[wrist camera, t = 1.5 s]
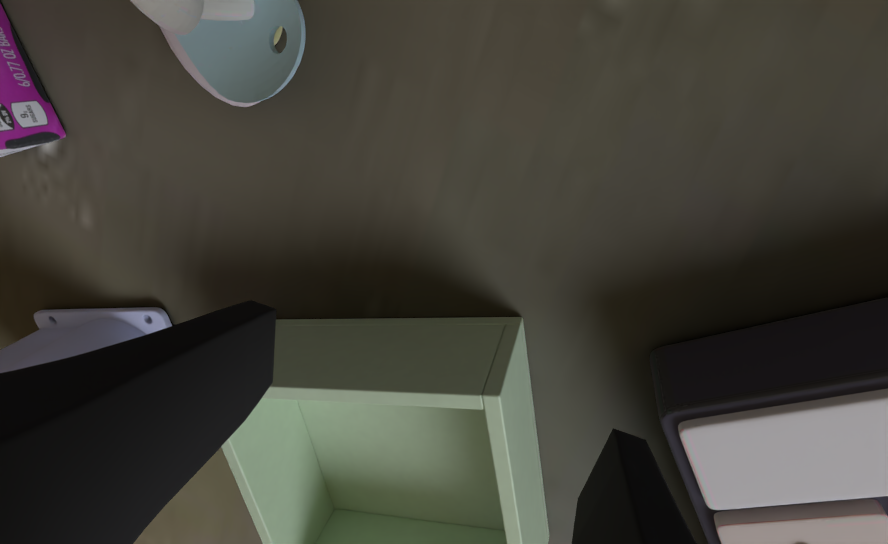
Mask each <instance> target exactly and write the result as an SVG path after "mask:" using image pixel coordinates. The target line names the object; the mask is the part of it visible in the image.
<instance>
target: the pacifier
mask: <svg viewBox="0 0 888 544" xmlns="http://www.w3.org/2000/svg"><path fill="white" fill-rule="evenodd" d="M130 1H131V2H132V3H133V4H134V5H135V6H136V7H137V8H138V9H139V10H140V11H141V12H142V13H144V14H145V15H146V16H147V17H148V18H150V19H151V20H152V21H153V22H155V23H156V24H158V25H159V27H160V29H161V31H162V32H163V34H164V36H165V38H166V40H167V42H168V44H169V46H170V48H171V49H172V51H173V52H174V54H175V55H176V56H177V58H178V59H179V61H180V62H181V64H182V65H183V67H184V68H185V69H186V70H187V71H188V72H189V74H190V75H191V76H192V77H193V78H194V79H195V80H196V81H197V82H198V83H199V84H200V85H201V86H202V87H203V88H204V89H206V90H207V91H208V92H210V93H211V94H212V95H213V96H215V97H216V98H218V99H220V100H222V101H225V102H227V103H229V104H231V105H233V106H241V107H249V106H252V105H254V104H257V103H259V102H260V101H263V100H265V99H268V98H270V97H272V96H274V95H275V94H277V93H278V92H279V91H280V90H281V89H283V88H284V87H285V86H286V85H287V84H288V82H289V81H290V80H291V79H292V77H293V76H294V74H295V72H296V70H297V68H298V66H299V64H300V62H301V59H302V55H303V52H304V47H305V22H304V16H303V13H302V10H301V8H300V5H299V2H298V1H297V0H130ZM282 28H284V29H285V31H286V33H287V44H286V47H285V49H284V50H283V51H282V52H281V53H279V52H278V51H277V50H276V48H275V45H276V44H277V42H278V40H279V39H280V36H281V33H282Z"/></svg>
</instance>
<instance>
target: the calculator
mask: <svg viewBox="0 0 888 544" xmlns="http://www.w3.org/2000/svg"><path fill="white" fill-rule="evenodd" d="M650 364H651V371H652V377H653V383H654V390H655V396H656V402H657V408H658V414H659V420H660V423H661V426H662V428H663V431H664V434H665V436H666V439H667V441H668V444H669V446H670V449H671V451H672V454H673V456H674V459H675V461H676V464H677V466H678V469H679V471H680V474H681V476H682V479H683V481H684V484H685V486H686V489H687V491H688V494H689V496H690V499H691V501H692V504H693V506H694V509H695V511H696V514H697V516H698V519H699V521H700V524H701V526H702V529H703V531H704V534H705V537H706V539H707V542H708V544H888V297H887V298H882V299H878V300H873V301H869V302H864V303H859V304H855V305H850V306H846V307H841V308H837V309H832V310H827V311H823V312H818V313H814V314H809V315H805V316H800V317H795V318H791V319H786V320H782V321H777V322H773V323H768V324H763V325H759V326H754V327H750V328H745V329H741V330H736V331H731V332H727V333H722V334H718V335H713V336H709V337H704V338H700V339H695V340H690V341H686V342H681V343H677V344H672V345H668V346H663V347H659V348H656V349H655V350H653V351H652V352H651V354H650Z"/></svg>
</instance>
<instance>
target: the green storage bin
mask: <svg viewBox="0 0 888 544" xmlns="http://www.w3.org/2000/svg"><path fill="white" fill-rule="evenodd" d="M221 447H222V450H223V452H224V454H225V457H226V459H227V461H228V464H229V466H230V468H231V471H232V473H233V475H234V478H235V480H236V482H237V485H238V487H239V489H240V492H241V494H242V496H243V499H244V501H245V503H246V506H247V508H248V510H249V513H250V515H251V517H252V519H253V522H254V524H255V526H256V529H257V531H258V533H259V536H260V538H261V540H262V543H263V544H548V540H549V528H548V520H547V512H546V504H545V496H544V487H543V479H542V471H541V463H540V455H539V446H538V438H537V430H536V422H535V414H534V405H533V397H532V389H531V381H530V373H529V364H528V356H527V348H526V340H525V332H524V323H523V318H522V317H466V318H373V319H279V320H276V328H275V348H274V369H273V383H272V384H271V386H270V387H269V389H268V390H267V391H266V393H265V394H264V396H263V397H262V398H261V400H260V401H259V403H258V404H257V405H256V407H255V408H254V409H253V411H252V412H251V413H250V415H249V416H248V417H247V419H246V420H245V421H244V422H243V423H242V425H241V426H240V427H239V428H238V429H237V430H236V431H235V432H234V433H233V434H232V435H231V436H230V438H229V439H228V440H227V441H226V442H225V443H224V444H223V445H222V446H221Z"/></svg>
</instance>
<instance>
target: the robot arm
mask: <svg viewBox="0 0 888 544" xmlns="http://www.w3.org/2000/svg"><path fill="white" fill-rule="evenodd" d="M34 320H35V322H36V324H37V326H38V327H39V329H40V330H38V331H36V332H34V333H32V334H30V335H28V336H26V337H24V338H22V339H20V340H18V341H16V342H15V343H13V344H11V345H9V346H7V347H5V348H3V349H1V350H0V544H133V543H134V542H135V540H136V539H137V538H138V537H139V535H140V534H141V533H142V532H143V530H144V529H145V528H146V527H147V526H148V524H149V523H150V522H151V521H152V520H153V519H154V518H155V516H156V515H157V514H158V513H159V512H160V511H161V510H162V508H163V507H164V506H165V505H166V504H167V503H168V502H169V501H170V500H171V499H172V498H173V497H174V496H175V495H176V494H177V493H178V491H179V490H180V489H181V488H182V487H183V486H184V485H185V484H186V483H187V482H188V481H189V480H190V479H191V478H192V477H193V476H194V475H195V474H196V473H197V471H198V470H199V469H200V468H201V467H202V466H203V465H204V464H205V463H206V462H207V461H208V460H209V459H210V458H211V457H212V456H213V455H214V454H215V453H216V451H217V450H218V449H219V448H220V447H221V446H222V445H223V444H224V443H225V442H226V441H227V440H228V439H229V438H230V436H231V435H232V434H233V433H234V432H235V431H236V430H237V429H238V428H239V427H240V426H241V425H242V423H243V422H244V421H245V420H246V419H247V417H248V416H249V415H250V413H251V412H252V411H253V409H254V408H255V407H256V405H257V404H258V403H259V401H260V400H261V398H262V397H263V396H264V394H265V393H266V391H267V390H268V389H269V387H270V386H271V384H272V383H273V369H274V348H275V328H276V309H275V308H272V307H269V306H266V305H263V304H261V303H258V302H255V301H252V300H250V301H247V302H243V303H240V304H236V305H233V306H230V307H227V308H224V309H221V310H218V311H215V312H212V313H209V314H206V315H203V316H200V317H198V318H195V319H192V320H189V321H186V322H183V323H180V324H177V325H174V326H172V324H171V322H170V319H169V317H168V315H167V313H166V312H165V311H164V310H163V309H161V308H158V307H142V308H98V309H53V310H40V311H38V312H36V313H35V314H34ZM572 544H697V543H696V541H695V539H694V537H693V535H692V534H691V532H690V530H689V528H688V526H687V524H686V522H685V520H684V518H683V516H682V514H681V512H680V510H679V508H678V506H677V504H676V502H675V500H674V498H673V496H672V494H671V492H670V490H669V488H668V485H667V483H666V481H665V479H664V477H663V475H662V473H661V471H660V469H659V467H658V464H657V462H656V460H655V458H654V456H653V454H652V452H651V450H650V448H649V446H648V444H647V442H646V440H644V439H641V438H639V437H636V436H633V435H630V434H627V433H625V432H622V431H619V430H616V429H613V430H612V432H611V434H610V436H609V438H608V440H607V442H606V444H605V446H604V448H603V450H602V452H601V454H600V456H599V458H598V460H597V462H596V464H595V466H594V468H593V470H592V472H591V474H590V476H589V478H588V480H587V482H586V484H585V486H584V488H583V490H582V492H581V494H580V496H579V498H578V502H577V509H576V516H575V523H574V531H573V539H572Z"/></svg>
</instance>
